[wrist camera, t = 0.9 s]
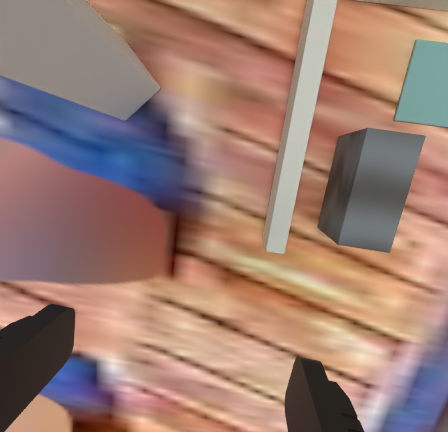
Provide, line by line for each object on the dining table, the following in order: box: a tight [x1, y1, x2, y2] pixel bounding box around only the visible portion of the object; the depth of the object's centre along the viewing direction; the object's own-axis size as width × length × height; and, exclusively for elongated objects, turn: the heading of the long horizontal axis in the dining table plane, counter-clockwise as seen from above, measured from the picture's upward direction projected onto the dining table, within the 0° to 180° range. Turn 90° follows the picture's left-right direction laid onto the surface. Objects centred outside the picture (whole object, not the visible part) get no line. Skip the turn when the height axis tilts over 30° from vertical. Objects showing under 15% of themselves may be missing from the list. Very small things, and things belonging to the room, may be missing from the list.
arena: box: [263, 0, 448, 254], centre depth 25 cm, size 29×30×5 cm
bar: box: [318, 128, 425, 253], centre depth 26 cm, size 11×5×7 cm, turn 172°
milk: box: [0, 0, 161, 121], centre depth 18 cm, size 6×6×22 cm
